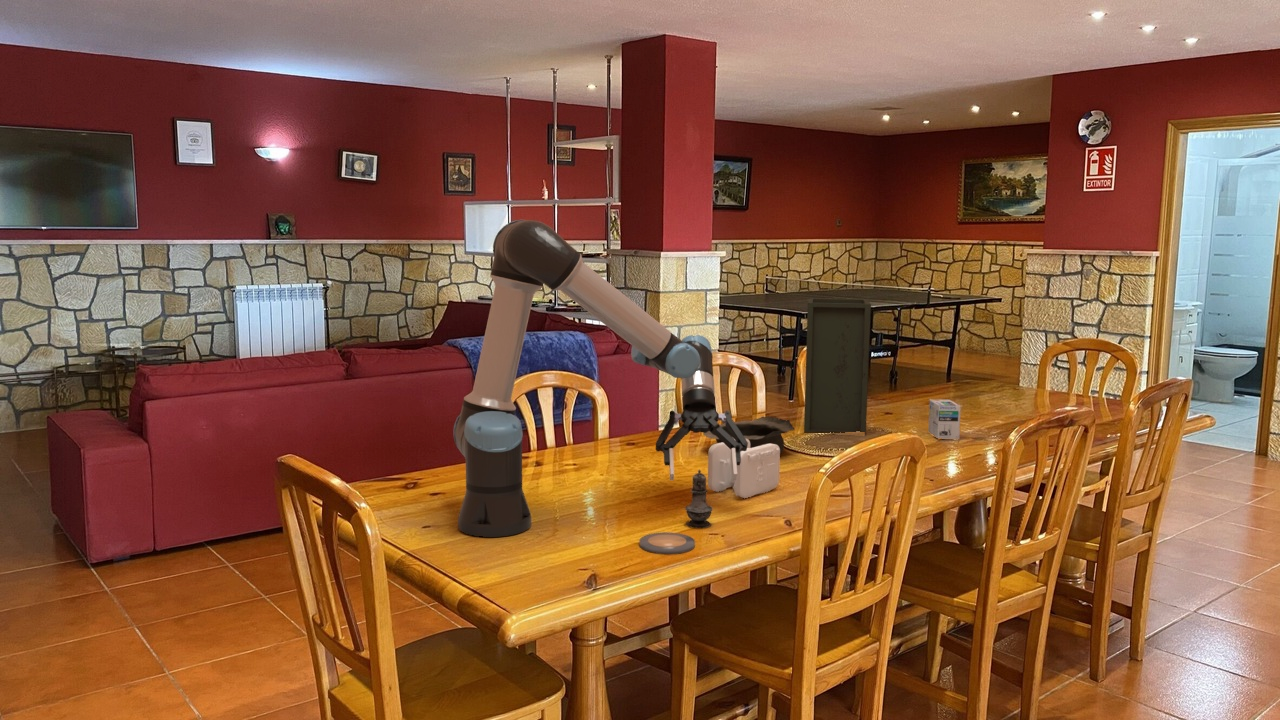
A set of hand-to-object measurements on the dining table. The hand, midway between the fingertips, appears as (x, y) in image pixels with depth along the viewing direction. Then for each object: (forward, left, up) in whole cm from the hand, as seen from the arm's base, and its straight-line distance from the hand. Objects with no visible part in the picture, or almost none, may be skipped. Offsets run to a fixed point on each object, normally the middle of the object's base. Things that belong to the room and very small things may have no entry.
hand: (703, 477), depth 209 cm
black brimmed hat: (-45, +46, -9) cm, 65 cm away
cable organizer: (-13, +21, -9) cm, 26 cm away
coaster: (+11, -16, -9) cm, 22 cm away
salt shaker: (+3, -3, -9) cm, 10 cm away
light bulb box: (-32, +110, -9) cm, 115 cm away
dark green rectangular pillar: (-57, +89, -9) cm, 106 cm away
